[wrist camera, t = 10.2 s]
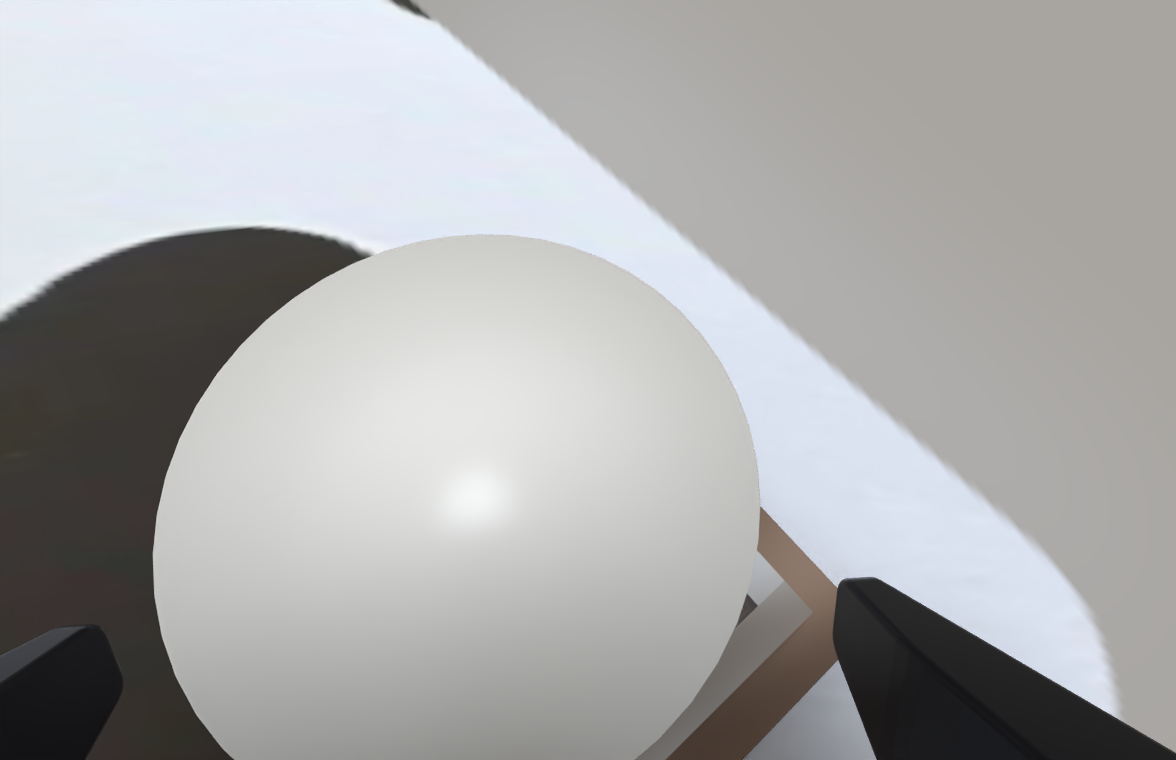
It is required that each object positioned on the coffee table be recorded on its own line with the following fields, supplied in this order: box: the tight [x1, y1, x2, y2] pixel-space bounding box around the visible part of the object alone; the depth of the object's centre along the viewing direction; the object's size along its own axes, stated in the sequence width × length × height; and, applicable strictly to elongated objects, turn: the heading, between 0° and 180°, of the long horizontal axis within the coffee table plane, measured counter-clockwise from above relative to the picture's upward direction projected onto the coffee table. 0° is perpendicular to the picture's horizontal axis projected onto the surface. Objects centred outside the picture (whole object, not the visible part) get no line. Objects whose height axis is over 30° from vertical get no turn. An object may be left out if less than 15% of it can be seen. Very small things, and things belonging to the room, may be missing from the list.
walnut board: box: [635, 506, 838, 760], centre depth 16 cm, size 13×13×2 cm
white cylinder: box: [153, 234, 760, 760], centre depth 11 cm, size 6×6×12 cm
